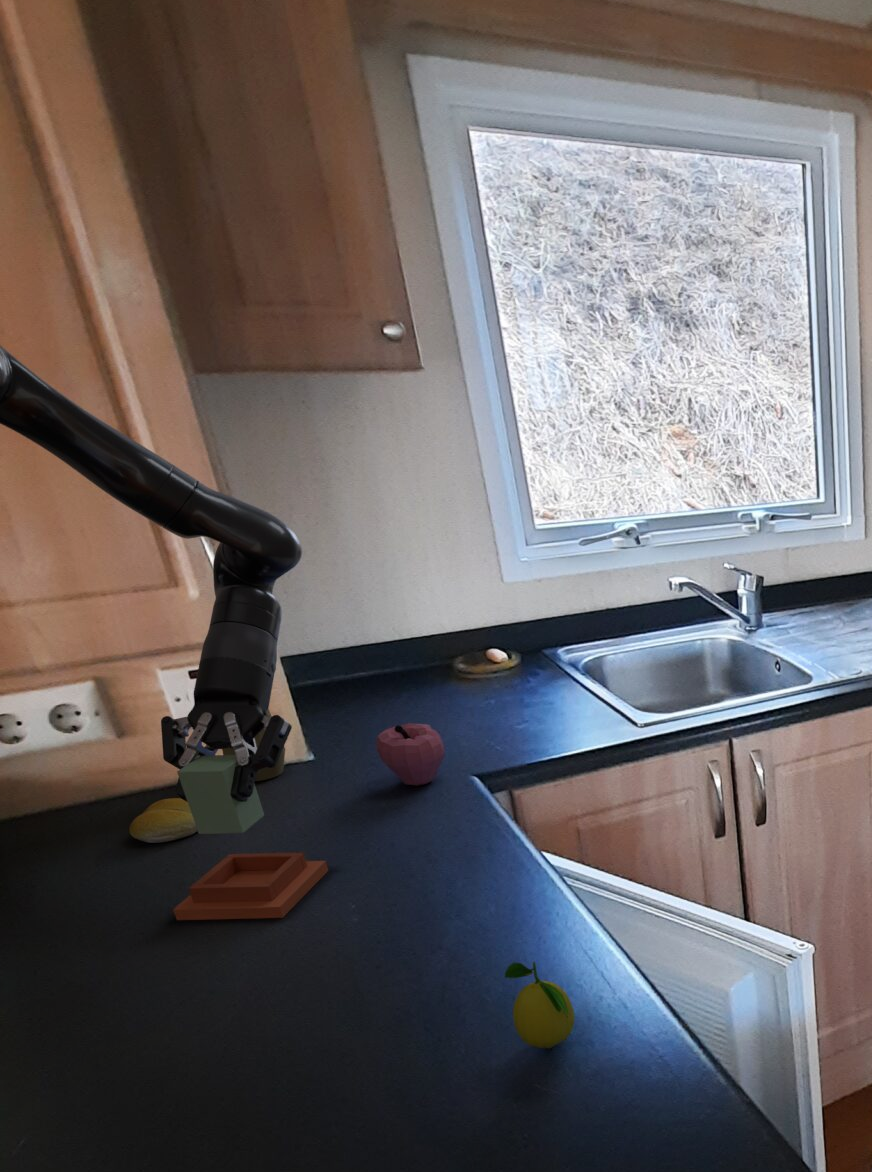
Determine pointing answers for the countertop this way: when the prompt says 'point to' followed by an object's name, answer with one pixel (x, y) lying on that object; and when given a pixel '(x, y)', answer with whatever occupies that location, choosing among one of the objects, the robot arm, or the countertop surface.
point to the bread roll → (164, 822)
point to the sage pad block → (217, 796)
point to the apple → (411, 752)
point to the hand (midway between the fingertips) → (213, 799)
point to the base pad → (251, 887)
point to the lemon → (541, 1010)
